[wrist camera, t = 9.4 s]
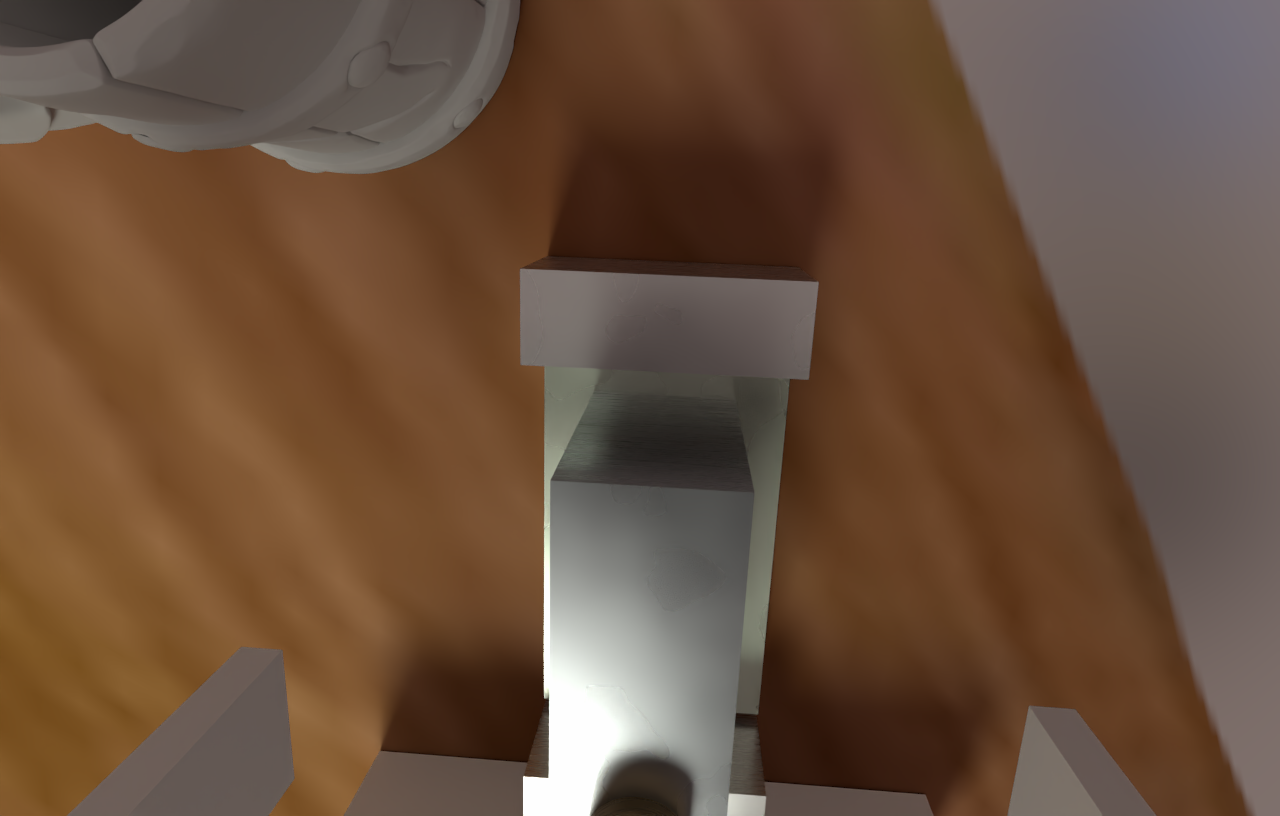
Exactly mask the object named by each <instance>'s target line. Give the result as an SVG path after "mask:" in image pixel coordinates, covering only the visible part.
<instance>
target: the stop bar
mask: <svg viewBox="0 0 1280 816" xmlns="http://www.w3.org/2000/svg"><path fill="white" fill-rule="evenodd" d="M753 505H754V488H753V483H752V478H751V473H750V468H749V463H748V458H747V453H746V448H745V443H744V438H743V433H742V428H741V423H740V418H739V414H738V409H737V404H736V399H724V398H705V397H686V396H668V395H649V394H630V393H611V392H593V394H592V396H591V398H590V400H589V402H588V404H587V407H586V409H585V411H584V413H583V415H582V417H581V419H580V421H579V423H578V425H577V427H576V429H575V431H574V433H573V435H572V437H571V439H570V441H569V443H568V445H567V447H566V449H565V451H564V453H563V455H562V457H561V460H560V462H559V464H558V466H557V468H556V470H555V472H554V474H553V476H552V478H551V480H550V641H549V816H727V810H728V799H729V787H730V775H731V763H732V752H733V740H734V728H735V716H736V705H737V693H738V681H739V669H740V658H741V646H742V634H743V622H744V611H745V599H746V587H747V575H748V564H749V552H750V540H751V528H752V517H753Z"/></svg>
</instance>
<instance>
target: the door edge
mask: <svg viewBox="0 0 1280 816" xmlns="http://www.w3.org/2000/svg"><path fill="white" fill-rule="evenodd" d="M526 767H527V763H525V762H512V761H500V760H487V759H475V758H462V757H450V756H437V755H425V754H412V753H400V752H387V751H379V753H378V755H377V757H376V759H375V760H374V762H373V764H372V766H371V768H370V769H369V771H368V773H367V775H366V777H365V778H364V780H363V782H362V784H361V786H360V787H359V789H358V791H357V793H356V795H355V796H354V798H353V800H352V802H351V803H350V805H349V807H348V809H347V811H346V812H345V814H344V816H524V774H525V770H526ZM765 790H766V804H765V814H764V816H933V813H932V810H931V808H930V805H929V803H928V800H927V797H926V795H924V794H912V793H899V792H887V791H874V790H862V789H849V788H837V787H824V786H812V785H799V784H787V783H774V782H765Z"/></svg>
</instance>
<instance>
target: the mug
mask: <svg viewBox="0 0 1280 816" xmlns="http://www.w3.org/2000/svg"><path fill="white" fill-rule="evenodd" d="M519 12H520V0H0V144H14V143H28V142H36V141H38V140H39V139H41V138H42V137H44V135H45V134H46V133H47V132H48V131H50V130H63V129H70V128H75V127H79V126H84V125H89V124H93V123H97V122H98V123H100V124H102V125H104V126H106V127H108V128H110V129H112V130H114V131H116V132H119V133H122V134H132V136H133V138H134V139H136V140H138V141H139V142H141V143H143V144H146V145H149V146H153V147H157V148H161V149H166V150H170V151H175V152H188V151H192V150H193V149H196V150H208V149H216V148H233V147H240V146H246V145H252V146H253V147H255V148H257V149H259V150H261V151H263V152H265V153H267V154H269V155H271V156H273V157H276V158H278V159H285V160H286V162H287V163H288V164H289V165H290V166H292V167H294V168H296V169H299V170H303V171H307V172H313V173H321V172H324V171H328V172H337V173H350V174H368V173H376V172H381V171H386V170H390V169H395V168H399V167H402V166H405V165H408V164H411V163H413V162H416V161H418V160H420V159H423V158H425V157H427V156H429V155H431V154H432V153H434V152H436V151H437V150H439V149H441V148H442V147H444V146H445V145H447V144H448V143H449V142H451V141H452V140H453V139H454V138H456V137H457V136H458V135H459V134H460V133H461V132H462V131H464V130H465V129H466V128H467V127H468V126H469V125H470V124H471V122H472V121H473V120H474V119H475V118H476V117H477V116H478V115H479V113H480V112H481V111H482V110H483V109H484V107H485V106H486V105H487V103H488V102H489V101H490V99H491V98H492V97H493V95H494V93H495V92H496V90H497V88H498V87H499V85H500V83H501V81H502V79H503V77H504V74H505V72H506V69H507V67H508V64H509V61H510V57H511V54H512V51H513V47H514V38H515V34H516V29H517V24H518V21H519Z"/></svg>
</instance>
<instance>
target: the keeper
mask: <svg viewBox="0 0 1280 816" xmlns="http://www.w3.org/2000/svg"><path fill="white" fill-rule="evenodd" d="M818 284H819V282H818V281H817V280H815V279H814V278H813V277H811V276H810V275H809V274H807V273H806V272H804V271H803V270H802V269H800V268H799V267H784V266H761V265H738V264H715V263H692V262H669V261H646V260H623V259H601V258H578V257H555V256H546V257H544V258H542V259H540V260H538V261H536V262H533V263H531V264H529V265H527V266H525V267H523V268H520V343H521V365H533V366H545V447H544V698H546V701H545V704H544V708H543V711H542V715H541V718H540V722H539V725H538V728H537V732H536V735H535V739H534V742H533V746H532V749H531V753H530V756H529V760H528V763H527V767H526V770H525V774H524V816H549V641H550V480H551V478H552V476H553V474H554V472H555V470H556V468H557V466H558V464H559V462H560V460H561V457H562V455H563V453H564V451H565V449H566V447H567V445H568V443H569V441H570V439H571V437H572V435H573V433H574V431H575V429H576V427H577V425H578V423H579V421H580V419H581V417H582V415H583V413H584V411H585V409H586V407H587V404H588V402H589V400H590V398H591V396H592V394H593V392H611V393H630V394H649V395H668V396H686V397H705V398H724V399H736V404H737V409H738V414H739V418H740V423H741V428H742V433H743V438H744V443H745V448H746V453H747V458H748V463H749V468H750V473H751V478H752V483H753V488H754V505H753V517H752V528H751V540H750V552H749V564H748V575H747V587H746V599H745V611H744V622H743V634H742V646H741V658H740V669H739V681H738V693H737V705H736V716H735V728H734V740H733V752H732V763H731V775H730V787H729V799H728V810H727V816H764V814H765V804H766V790H765V781H764V773H763V765H762V756H761V748H760V740H759V732H758V723H757V715H750V714H758V710H759V700H760V689H761V678H762V668H763V657H764V647H765V636H766V626H767V615H768V604H769V594H770V583H771V573H772V562H773V552H774V541H775V530H776V520H777V509H778V499H779V488H780V478H781V467H782V456H783V446H784V435H785V425H786V414H787V404H788V393H789V382H790V379H805V380H809V372H810V362H811V352H812V343H813V333H814V323H815V313H816V303H817V294H818ZM737 713H744V714H737Z"/></svg>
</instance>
